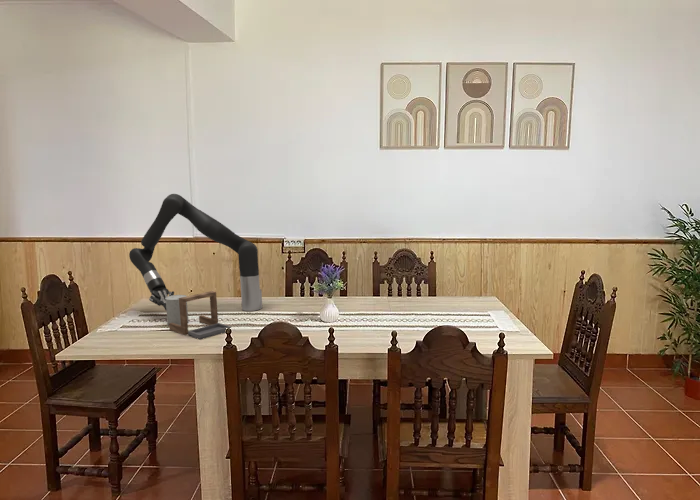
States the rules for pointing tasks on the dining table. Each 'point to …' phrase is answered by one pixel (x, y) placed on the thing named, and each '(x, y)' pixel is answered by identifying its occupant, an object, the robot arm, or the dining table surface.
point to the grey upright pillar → (174, 309)
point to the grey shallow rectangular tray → (208, 331)
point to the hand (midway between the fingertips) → (169, 310)
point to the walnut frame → (202, 319)
